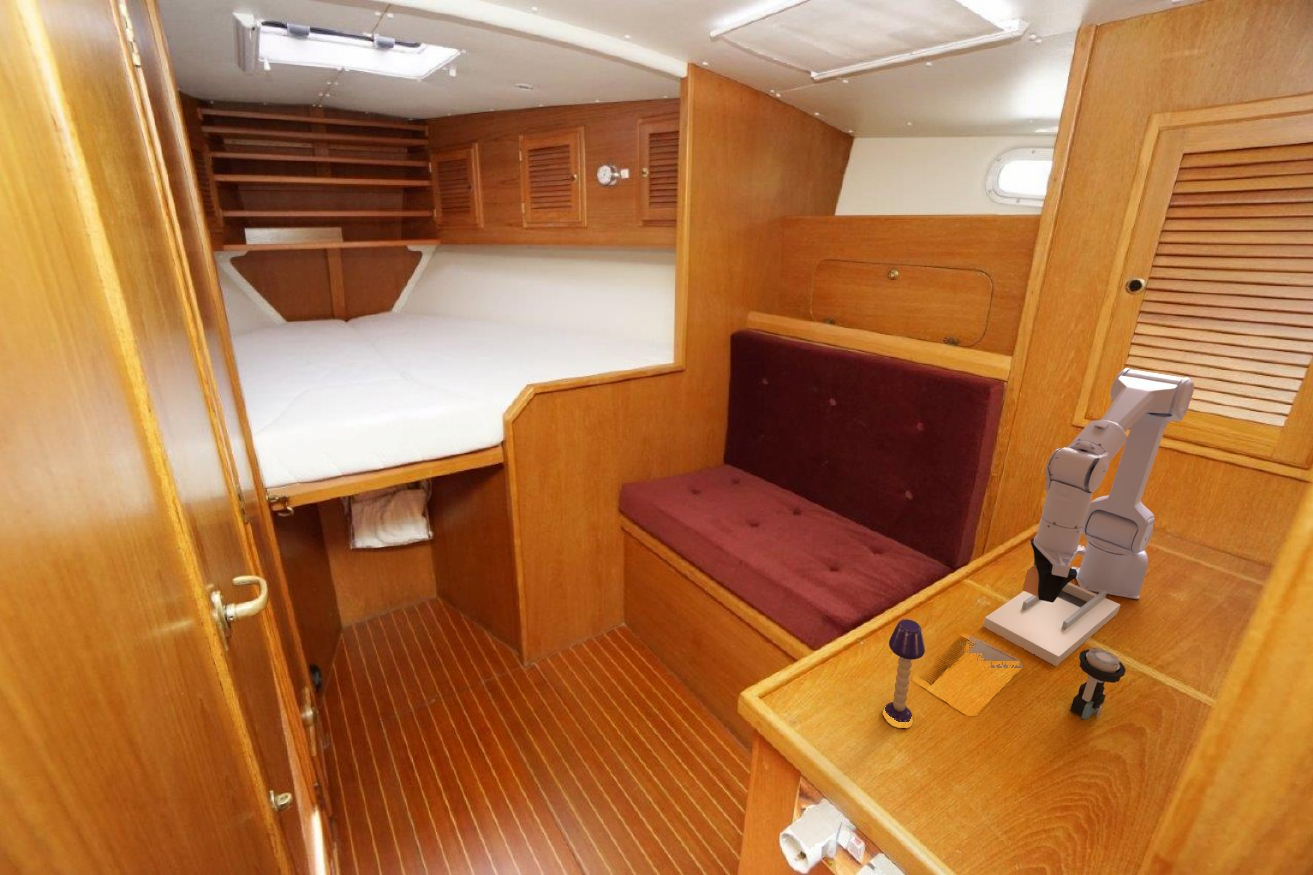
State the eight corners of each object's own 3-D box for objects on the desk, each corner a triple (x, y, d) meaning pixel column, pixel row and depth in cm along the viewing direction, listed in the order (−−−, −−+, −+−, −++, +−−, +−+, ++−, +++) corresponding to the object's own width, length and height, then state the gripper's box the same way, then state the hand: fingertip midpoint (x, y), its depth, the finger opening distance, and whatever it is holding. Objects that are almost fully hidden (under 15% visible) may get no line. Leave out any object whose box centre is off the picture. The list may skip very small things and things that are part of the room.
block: (1033, 581, 100) (1038, 562, 99) (1058, 593, 97) (1064, 573, 96) (1022, 589, 98) (1027, 570, 97) (1047, 601, 95) (1053, 581, 94)
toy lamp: (893, 734, 82) (910, 639, 76) (870, 710, 86) (885, 619, 80) (919, 723, 83) (937, 630, 77) (895, 700, 87) (911, 610, 82)
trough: (1047, 582, 115) (1051, 567, 114) (1117, 613, 106) (1122, 597, 105) (983, 626, 103) (986, 610, 102) (1056, 666, 94) (1061, 649, 92)
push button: (1080, 688, 89) (1096, 636, 86) (1120, 711, 85) (1139, 657, 81) (1057, 705, 86) (1073, 652, 83) (1097, 730, 82) (1116, 675, 78)
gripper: (1101, 546, 85) (1079, 621, 90) (1084, 505, 97) (1065, 573, 102) (1045, 536, 88) (1026, 609, 93) (1035, 498, 100) (1019, 564, 105)
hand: (1043, 590), depth 97 cm, fingers closed on block, 5 cm apart
